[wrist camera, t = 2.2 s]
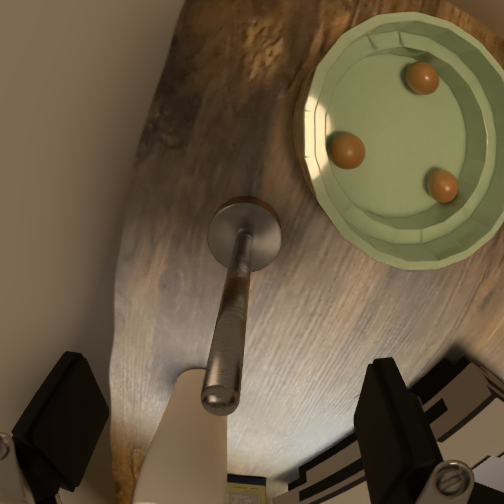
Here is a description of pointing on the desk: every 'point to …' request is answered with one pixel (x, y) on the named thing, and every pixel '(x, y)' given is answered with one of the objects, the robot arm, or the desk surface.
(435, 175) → the bead
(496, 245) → the desk surface
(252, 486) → the protein box
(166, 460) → the drinking glass
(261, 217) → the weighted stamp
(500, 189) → the bowl
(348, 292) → the desk surface
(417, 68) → the bead
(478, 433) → the game console
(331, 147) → the bead
